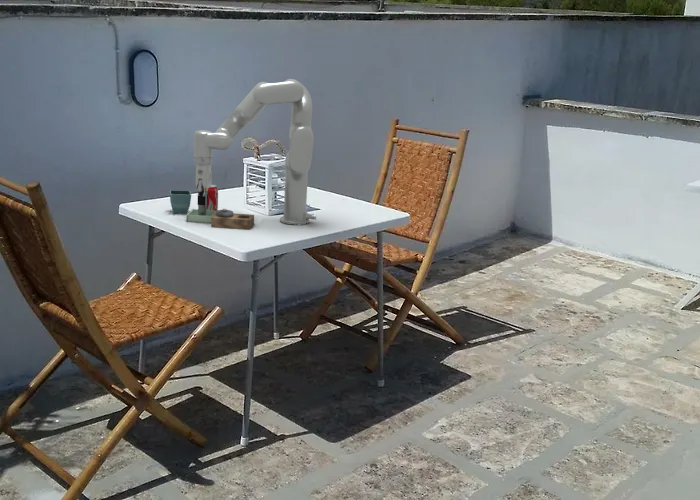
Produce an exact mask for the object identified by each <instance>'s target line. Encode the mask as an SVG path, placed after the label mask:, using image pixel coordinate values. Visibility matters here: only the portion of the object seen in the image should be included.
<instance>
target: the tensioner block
mask: <svg viewBox="0 0 700 500" xmlns="http://www.w3.org/2000/svg"><path fill="white" fill-rule="evenodd" d="M254 225H255V214H248V213H246V214H245V213H236V212H235V213H234V211H233V210H230V209H227V208H222V209H218V210H217V211H216V213H215V214H214V215H213V216H212V217H211V224H210V228H220V229H236V230H248V231H249V230H250V231H251V229H252V228H253V226H254Z"/></svg>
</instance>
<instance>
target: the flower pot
mask: <svg viewBox="0 0 700 500" xmlns="http://www.w3.org/2000/svg"><path fill="white" fill-rule="evenodd" d="M191 202H192V192H191V190H177V189H175V190H174V189H172V190H169V203H170V206H171V208H172V209H171V210H172V212H173V213H174V214H186V215H187V214H188V211H189V210H190V207H191V206H190V205H191Z"/></svg>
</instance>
